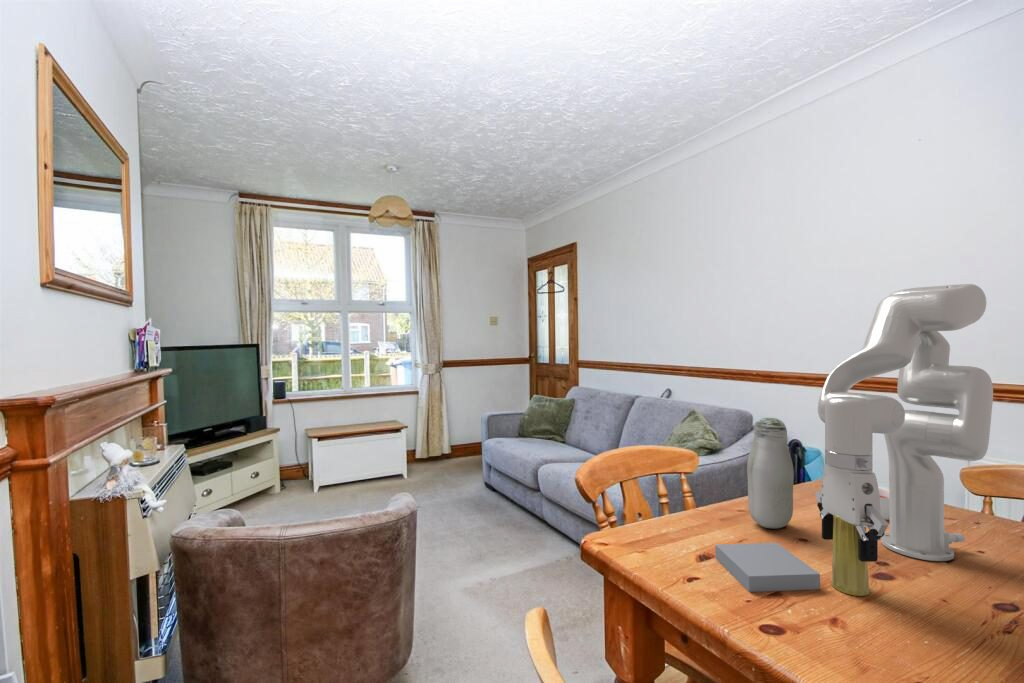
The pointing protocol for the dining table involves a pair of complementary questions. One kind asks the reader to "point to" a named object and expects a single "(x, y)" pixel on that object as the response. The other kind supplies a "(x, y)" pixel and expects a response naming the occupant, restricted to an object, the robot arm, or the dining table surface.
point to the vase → (848, 560)
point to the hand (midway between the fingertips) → (848, 549)
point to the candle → (884, 503)
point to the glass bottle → (770, 475)
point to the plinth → (766, 567)
